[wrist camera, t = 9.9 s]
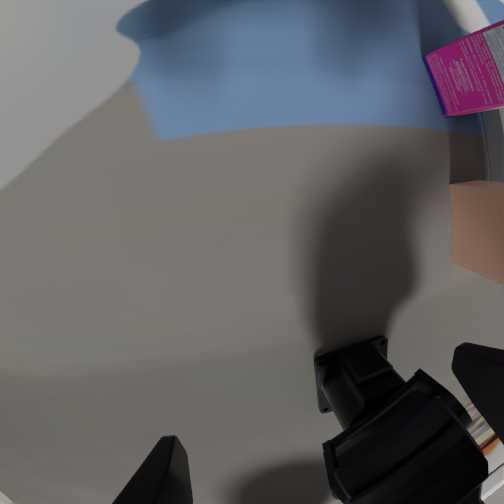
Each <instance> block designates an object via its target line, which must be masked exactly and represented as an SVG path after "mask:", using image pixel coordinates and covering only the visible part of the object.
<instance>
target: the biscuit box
mask: <svg viewBox="0 0 504 504" xmlns="http://www.w3.org/2000/svg"><path fill="white" fill-rule="evenodd" d="M449 185H450V197H451V212H452V263H454V264H457V265H459V266H461V267H464V268H466V269H468V270H471V271H473V272H475V273H478V274H480V275H482V276H485V277H487V278H489V279H491V280H494V281H496V282H498V283H500V284H502V285H504V182H496V181H486V180H474V181H468V182H461V183H455V184H449Z"/></svg>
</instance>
